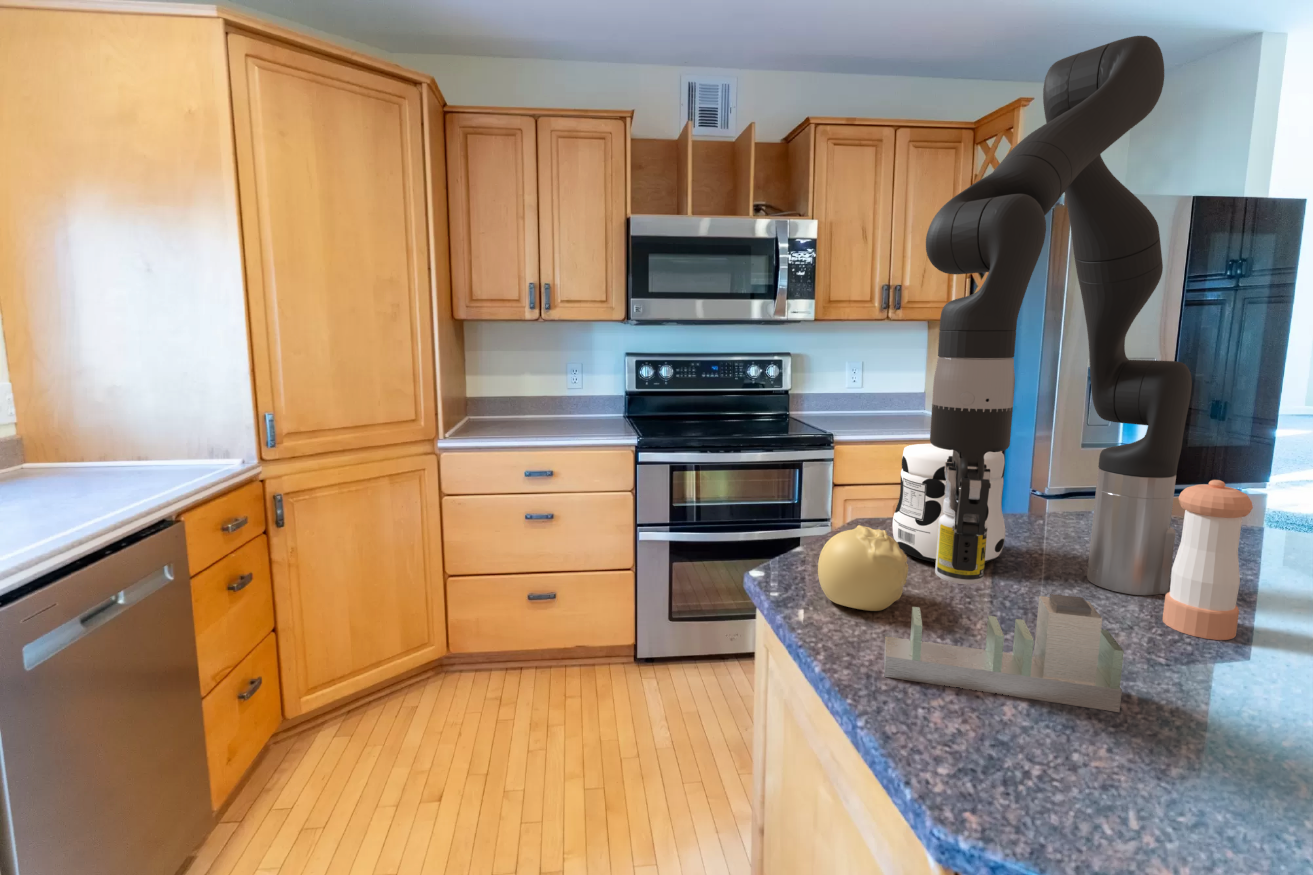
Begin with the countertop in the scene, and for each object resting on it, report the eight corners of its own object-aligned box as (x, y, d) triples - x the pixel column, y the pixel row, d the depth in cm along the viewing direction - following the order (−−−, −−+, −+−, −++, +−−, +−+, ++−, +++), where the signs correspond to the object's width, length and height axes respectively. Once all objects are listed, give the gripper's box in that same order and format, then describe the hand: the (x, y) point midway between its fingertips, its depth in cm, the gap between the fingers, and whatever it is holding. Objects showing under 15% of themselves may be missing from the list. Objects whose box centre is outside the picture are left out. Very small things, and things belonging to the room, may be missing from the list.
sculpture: (914, 622, 86) (919, 543, 84) (819, 616, 88) (822, 538, 86) (898, 589, 97) (902, 518, 95) (814, 584, 99) (817, 514, 97)
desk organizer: (1103, 687, 70) (1113, 597, 69) (1119, 712, 65) (1130, 616, 64) (884, 655, 77) (888, 573, 76) (884, 676, 72) (889, 589, 71)
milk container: (1007, 550, 114) (1016, 448, 112) (996, 581, 100) (1006, 465, 97) (903, 534, 124) (909, 439, 121) (879, 561, 109) (885, 453, 106)
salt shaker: (1218, 645, 80) (1239, 489, 77) (1150, 622, 86) (1167, 477, 83) (1247, 632, 83) (1268, 483, 80) (1180, 611, 89) (1197, 472, 86)
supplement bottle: (988, 587, 68) (995, 507, 67) (940, 583, 69) (945, 505, 68) (976, 571, 73) (982, 496, 71) (930, 568, 74) (935, 494, 72)
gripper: (1027, 410, 60) (1012, 589, 63) (1000, 396, 73) (988, 544, 76) (938, 408, 62) (926, 580, 65) (927, 394, 76) (918, 538, 78)
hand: (960, 560), depth 71 cm, fingers closed on supplement bottle, 4 cm apart
